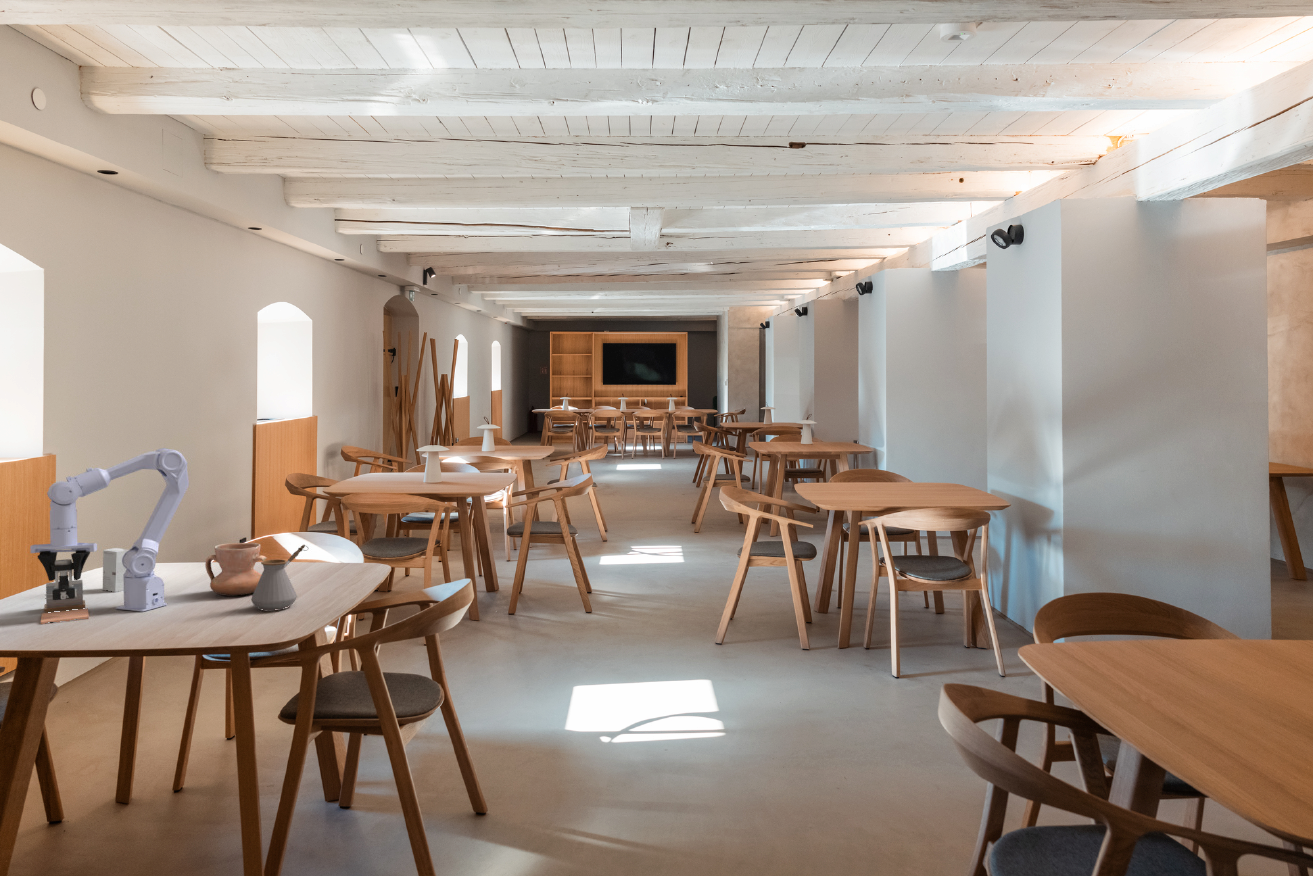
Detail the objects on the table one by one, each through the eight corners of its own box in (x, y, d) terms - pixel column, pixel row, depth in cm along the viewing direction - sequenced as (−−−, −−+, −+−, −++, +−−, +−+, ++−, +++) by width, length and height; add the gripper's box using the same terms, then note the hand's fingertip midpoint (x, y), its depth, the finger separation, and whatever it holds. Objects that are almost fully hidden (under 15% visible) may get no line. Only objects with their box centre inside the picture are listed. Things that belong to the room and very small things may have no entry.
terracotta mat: (88, 618, 217) (88, 616, 217) (40, 624, 211) (40, 622, 211) (87, 610, 225) (87, 608, 225) (41, 615, 219) (41, 613, 219)
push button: (43, 602, 212) (43, 562, 212) (46, 599, 217) (45, 560, 217) (75, 599, 216) (74, 560, 216) (77, 596, 220) (76, 558, 220)
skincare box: (101, 590, 248) (101, 549, 248) (116, 587, 252) (115, 547, 252) (115, 592, 246) (114, 551, 245) (130, 589, 250) (129, 549, 250)
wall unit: (85, 608, 227) (84, 583, 226) (44, 613, 222) (43, 587, 221) (84, 604, 232) (84, 579, 231) (44, 608, 226) (44, 583, 226)
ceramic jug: (278, 588, 254) (278, 541, 253) (251, 599, 239) (251, 550, 239) (221, 586, 255) (221, 540, 254) (191, 597, 241) (191, 548, 240)
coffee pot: (281, 614, 224) (281, 558, 223) (242, 612, 226) (241, 556, 225) (324, 595, 245) (323, 544, 244) (287, 594, 247) (287, 543, 246)
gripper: (101, 524, 222) (102, 575, 223) (39, 525, 219) (40, 577, 220) (90, 528, 216) (91, 581, 216) (25, 530, 212) (26, 583, 213)
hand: (64, 579), depth 217 cm, fingers closed on push button, 5 cm apart
